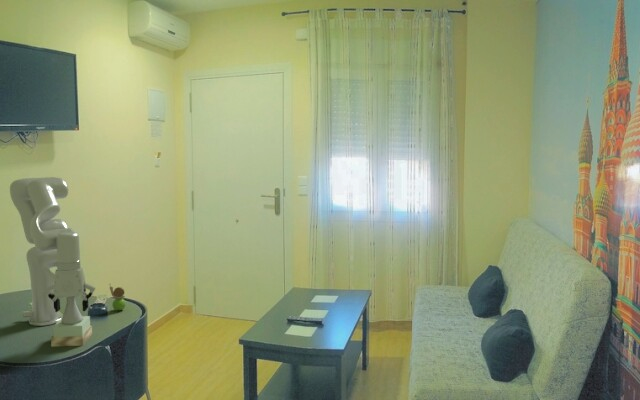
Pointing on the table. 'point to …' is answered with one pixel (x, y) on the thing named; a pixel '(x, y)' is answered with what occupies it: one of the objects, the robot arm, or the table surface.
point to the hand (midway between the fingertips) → (71, 310)
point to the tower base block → (71, 339)
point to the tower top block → (71, 328)
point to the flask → (71, 312)
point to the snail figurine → (118, 298)
